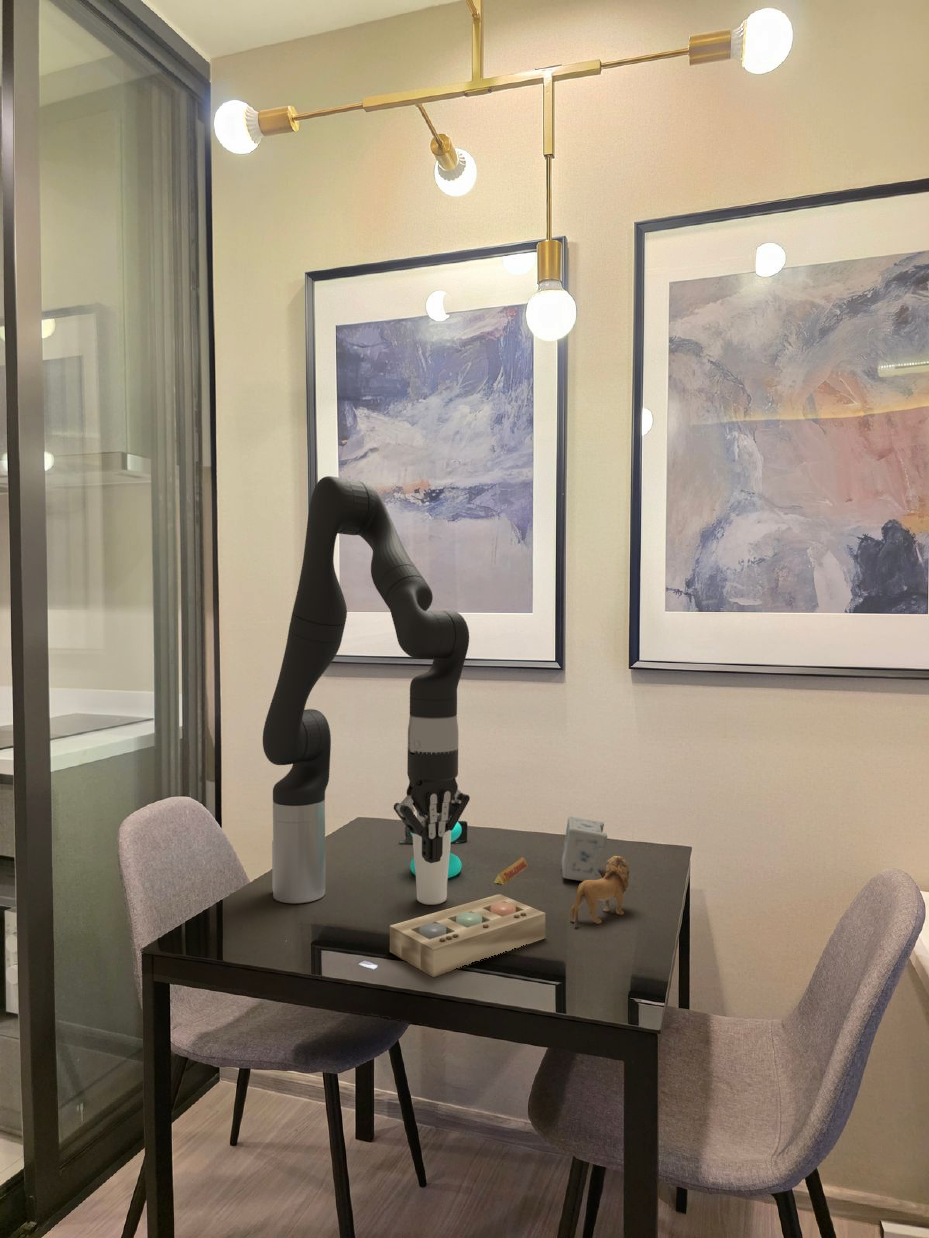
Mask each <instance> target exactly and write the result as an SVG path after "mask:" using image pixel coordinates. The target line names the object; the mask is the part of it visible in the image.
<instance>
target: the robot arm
mask: <svg viewBox="0 0 929 1238" xmlns="http://www.w3.org/2000/svg"><path fill="white" fill-rule="evenodd" d="M308 507H309V508H308V515H307V516H308V517H307V525H306V532H305V533H306V534H305V540H304V541H305V542H304V551H303V560H302V565H301V570H300V571H301V572H300V575H299V581H298V586H297V591H296V595H295V599H294V603H293V608H292V612H291V617H290V622H289V626H288V633H287V639H286V645H285V650H284V653H283V658H282V662H281V667H280V670H279V676H278V679H277V683H276V687H275V690H274V693H273V696H272V700H271V703H270V705H269V707H268V712H267V715H266V717H265V722H264V727H263V731H262V732H263V733H262V748H263V752H264V755H265V757H266V759H267V760H268V761H269V762H270V763H271V764H273V765H276V766H287V765H291V768H290V770H289V772H288V773H287V774H285V776H283V778H282V779H280V780H278V781H277V782H276V783H275V784H274V785H273V788H272V843H271V847H272V848H271V850H272V851H271V853H272V854H271V855H272V857H271V859H272V861H271V862H272V865H271V867H272V871H271V872H272V876H271V877H272V885H271V886H272V890H271V891H272V892H273V893H272V894H273V895H272V897H273V899H275V901H278V902H280V903H285V904H304V903H305V904H306V903H310V902H313V901H314V902H315V901H317V900H320V899H322V898H323V897H324V896H325V895H326V790H327V787H328V785H329V781H330V772H331V771H330V769H331V768H330V766H331V749H332V745H331V744H332V737H331V736H332V735H331V730H330V729H331V728H330V725H329V722H328V720H327V717H326V716H325V715H324V713H322V712H321V711H319V710H318V709H314V708H307V709H305V707H306V704H307V702H308V699H309V696H310V694H311V692H312V691H313V688H314V686H315V685H316V684H317V683H318V681H319V680H320V678H321V677H322V676H323V674H324V673H325V671H326V670H327V669H328V667H329V666H330V664H331V663H333V661H334V659H335V657H336V656H337V654H338V652H339V649H340V648H341V644H342V640H343V636H344V630H345V625H346V621H347V616H348V610H347V609H348V608H347V604H346V600H345V597H344V592H343V591H342V587H341V585H340V581H339V579H338V577H337V574H336V570H335V564H334V558H335V557H334V555H335V546H336V540H337V536H338V535H348V536H360V537H361V538H362V539H363V540H364V541H365V542H366V544H368V545H369V547H370V548H371V550H372V556H371V561H370V575H371V579H372V582H373V585H374V587H375V589H376V591H377V592H378V593H379V595H380V596H381V597H380V598H382V600H383V602H384V603H385V605H386V606H387V608H388V609H389V611H390V616H391V618H392V622H393V623H392V624H393V626H394V630H395V634H396V639H397V642H398V645H399V647H400V649H401V650H402V651H403V652H404V653H405V654H406V655H407V656H409V657H411V658H413V659H416V660H429V659H433V661H432V663H431V666H430V668H429V670H427V671H426V672H424V673H421V674H419V675H417V676H415V677H413V678H412V679H411V682H410V685H409V719H408V725H407V726H408V727H407V761H406V762H407V765H406V766H407V767H406V768H407V771H406V772H407V773H406V774H407V777H408V781H409V784H408V786H407V789H406V796H405V797H404V799H403V800H402V801H401V802H400V803H399V802H396V803H394V804H393V810H394V812H395V813H396V814H397V816H398V817H399V818H400V820H401V821H402V823H403V824H404V825H405V828H406V827H407V828H408V829H409V831H410V832H411V833H413V834H417V835H419V836H421V837H422V857H423V858H424V860H425V861H427V862H429V863H435V862H439V861H440V857H442V854H443V850H442V849H443V836H444V834H445V832H447V831H448V830H450V831H451V830H453V829H454V827H455V825H456V823H457V822H458V821H460V817H461V816H462V814H463V813H464V811H465V809H466V807H467V805H468V803H469V801H470V799H471V798H470V797H471V796H470V795H469V794H466V793H463V792H461V791H460V790H459V785H458V782H457V780H456V778H457V777H458V776H459V725H458V724H459V722H458V687H459V683H460V680H461V676H462V673H463V669H464V665H465V662H466V657H467V654H468V649H469V644H470V631H469V626H468V624H467V623H468V622H466V620H465V618H464V617H463V615H461V614H460V613H459V612H457V611H453V610H429V608H430V607H431V605H432V603H433V598H434V597H433V596H434V595H433V592H432V589H431V587H430V586H429V583H427V581H426V580H425V578H424V577H423V576H422V574H421V572H420V571H419V570H418V568H417V567H416V565H415V564H414V563H413V561H412V560H411V558H410V556H409V555H408V553H407V552H406V550H405V547H404V545H403V543H402V541H401V539H400V536H399V534H398V532H397V529H396V527H395V525H394V522H393V520H392V518H391V515H390V513H389V511H388V508H387V506H386V504H385V502H384V500H383V498H382V496H381V494H380V492H379V491H378V489H376V488H375V486H373V485H372V484H371V483H368V482H364V481H360V480H354V479H348V478H342V477H337V476H329V475H328V476H324V477H322V478H320V479H319V480H318V481H317V483H316V484H315V487H314V489H313V491H312V494H311V497H310V501H309V506H308ZM415 811H416V814H417V817H416V816H415V815H416V814H415Z"/></svg>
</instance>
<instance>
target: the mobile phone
mask: <svg viewBox="0 0 929 1238" xmlns="http://www.w3.org/2000/svg"><path fill="white" fill-rule="evenodd" d="M458 823H459V824H460V825H461V828H462V832H461V834H460V836H459V837H458V838H457V839H456V840H454V841H452V842H451V844H457V843H456V842H464V843H467V842H468V822H467V821H466V820H458ZM404 835H405V839H404V840H399V841H398V843H399V844H400V845H406V844H407V845H410V844H412V845H413V837H412V835H411V833H410V831H409V829H408V828H407V827H406V826H405V829H404Z"/></svg>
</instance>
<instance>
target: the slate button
mask: <svg viewBox="0 0 929 1238" xmlns="http://www.w3.org/2000/svg"><path fill="white" fill-rule="evenodd" d="M419 934H420V935H422V936H424V937H426V938H428V939H433V938H436V937H439V936H442V935H445V934H446V927H445V926H444V925H442V924H438V923H428V924H424V925H422V926H420V928H419Z"/></svg>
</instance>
